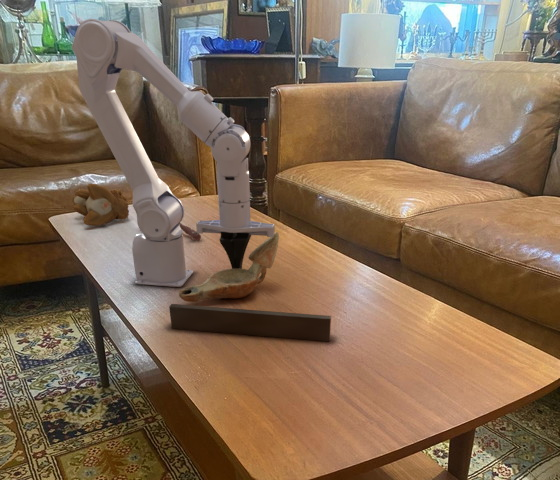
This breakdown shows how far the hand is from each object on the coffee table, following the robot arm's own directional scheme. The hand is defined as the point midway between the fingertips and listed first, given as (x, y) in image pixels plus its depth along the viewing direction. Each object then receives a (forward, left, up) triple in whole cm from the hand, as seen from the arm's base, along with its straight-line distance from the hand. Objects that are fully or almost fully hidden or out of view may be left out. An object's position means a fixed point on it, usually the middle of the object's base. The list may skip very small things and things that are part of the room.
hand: (237, 270), depth 106 cm
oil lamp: (0, -6, -3) cm, 7 cm away
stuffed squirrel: (-41, +32, +2) cm, 52 cm away
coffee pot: (-24, +27, -3) cm, 36 cm away
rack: (+7, -21, -2) cm, 22 cm away
